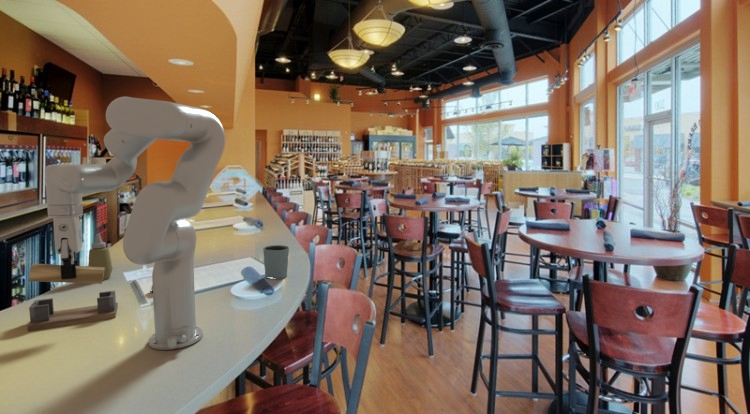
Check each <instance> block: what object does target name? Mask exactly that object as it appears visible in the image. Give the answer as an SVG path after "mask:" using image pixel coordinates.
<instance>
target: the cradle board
mask: <svg viewBox="0 0 750 414" xmlns="http://www.w3.org/2000/svg"><path fill="white" fill-rule="evenodd" d="M98 294H99V296H98V297H97V299H96V302H97V304H96V305H92V306H84V307H76V308H70V309H61V310H56V311H55V310H54V300H53V299H54V298H53V297H52V298H45V299H44V298H43V299H36V300H34V301H33V302H32V303H31V304H30V306H29V307H28V309H29V320H30V322H29V323H28V324H27V331H28V332H32V331H38V330H44V329H45V330H46V329H49V328H50V329H51V328H57V327H63V326H64V327H65V326H69V325H70V326H71V325H78V324H83V323H90V322H96V321H97V322H98V321H103V320H109V319H115V318H116V316H117V312H118V309H119V307H118V304H119V303H118V302H117V300H116V299H117V298H116V297H117V296H116V290H109V291H100V292H99V293H98Z"/></svg>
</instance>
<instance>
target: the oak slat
mask: <svg viewBox="0 0 750 414" xmlns="http://www.w3.org/2000/svg"><path fill="white" fill-rule="evenodd" d="M60 265H61V264H50V263H46V264H45V263H32V264H31V266H30V269H29V274H28V280H27V281H28V282H40V283H42V282H43V283H45V282H46V283H69V284H70V283H71V284H98V285H99V284H103V281H104V280H103V276H104V270H105V267H89V266H88V265H87V266H86V265H84V266H83V265H78V266H76V278H73V279H64V280H63V279H61V267H60Z"/></svg>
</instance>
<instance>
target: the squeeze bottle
mask: <svg viewBox="0 0 750 414" xmlns="http://www.w3.org/2000/svg"><path fill="white" fill-rule="evenodd" d="M106 245H107V242H104V241H103V239H102V237H101V233H96V234H95V239H94V242H93V243H91V249H90V248H89V250H88V265H87V266H89V267H105V270H104V276H103V281H105V280H108V279H110V278H111V276H112V275H111V274H112V272H113V269H114V268H113V264H112V260H111V252H110V248H108V247H107V246H106Z"/></svg>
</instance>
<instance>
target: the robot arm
mask: <svg viewBox="0 0 750 414" xmlns="http://www.w3.org/2000/svg"><path fill="white" fill-rule="evenodd" d="M105 120H106V122H107V125H108V127H110V128H111V129H110V130H109V131H108V132H107V133H105V135H104V137H103V143H104V147H105V148H106V150H107V151H108V152H109V153H110V154H111V155H112V156H113V157H112V158H111V159H110V160H109V161H107V162H106V163H104V164H103V163H102V164H100V163H97V164H95V163H93V164H92V163H90V164H89V163H85V164H82V163H80V164H79V163H78V164H49V165H47V166H46V167H45V168H44V180H45V191H46V192H45V194H46V206H47V207H46V208H47V217H48V218H52V219H53V235H54V237H53V238H54V248H55V253H56V254H57V255H60V264H59V265H60V267H61V279H63V280H64V279H73V278H76V266H79V264H78V260H77V254H78V253H80V251H81V250H82V248H83V239H82V228H81V221H80V217H81V216H84V208H83V207H84V206H83V195H82V194H90V193H106V192H112V191H114V190H117V189H118V188H120V187H121V186H122V185H124V184H125V183H126V182H127V181H129V180H130V178H131V177H132V176H133V175H134V173H135V172H136V168H137V165H138V159H137V158H138V157H139V156H140V155H141V154H142V153H144V151H146V150H147V149H148V148H149V147H150V146H151V145H153V143H155V142H156V141H157V140H164V141H174V142H175V141H176V142H187V143H189V144H190V145H189V146H188V147H187V149H186V150H185V151H184V152H183V153H182V154H181V156H180V157H179V159H178V161H177V164H176V167H175V170H174V173H173V174H172V176H171V178H170V179H169V180H164V181H163V180H162V181H161V180H159V181H154V182H151V183H149V184H147V185H145V186H144V187H143V188H142V189H141V190H140V191H139V192H138V194H137V196H136V198H135V200H134V204H133V207H132V210H131V212H130V216H129V219H128V222H127V225H126V228H125V231H124V235H123V238H122V249H123V253H124V255H125V257H126V258H127V260H129V262H131V263H133V264H136V265H141V266H143V265H144V266H146V265H150V264H151V265H152V264H154V265H153V268H152V275H151V276H152V277H151V278H152V279H151V280H152V281H151V282H152V285H151V287H152V286H153V292H152V298H153V299H152V300H153V301H152V302H153V303H152V304H153V318H154V319H153V320H154V333H153V334H152V335H151V336H150V337H149V338H148V346H149V347H150V348H152V349H153V350H160V351H168V350H169V351H170V350H177V349H182V348H185V347H188V346H191V345H193V344H195V343H197V342H198V341H200V340H201V339H202V338H203V335H204V331H203V329H202V328H201V327H198V326H197V321H196V297H195V296H196V295H195V267H194V265H195V264H194V263H195V252H196V246H197V232H196V229H195V228H194V226H193V224H192V223H190V222H189V221H188V220H186V219H190V218H192V217H195V216H197V215H199V213H200V212H201V211H202V208H203V206H204V203H205V202H206V201H205V200H206V198H207V196H208V192H209V189H210V187H211V184H212V181H213V178H214V175H215V172H216V169H217V167H218V165H219V163H220V160H221V158H222V155H223V153H224V151H225V148H226V147H225V146H226V132H225V128H224V127H223V124H222V123H221V121H220V120H219V118H218V117H216V115H214V114H213V113H211V111H208V110H206V109H203V108H200V107H196V106H192V105H187V104H181V103H177V102H173V101H172V102H171V101H166V100H157V99H150V98H149V99H148V98H147V99H146V98H140V97H139V98H138V97H131V96H120V97H117V98H115V99H113V100H112V101H111V102H110V103H109V105H108V106H107V107H106V111H105Z"/></svg>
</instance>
